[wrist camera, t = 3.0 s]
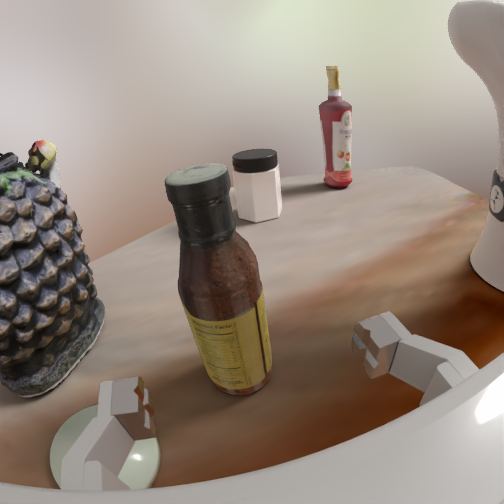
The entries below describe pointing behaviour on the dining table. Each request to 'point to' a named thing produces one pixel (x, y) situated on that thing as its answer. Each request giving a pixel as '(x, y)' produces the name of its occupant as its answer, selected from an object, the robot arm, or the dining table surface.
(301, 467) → the robot arm
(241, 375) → the sauce bottle
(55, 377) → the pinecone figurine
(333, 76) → the liquor
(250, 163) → the jar
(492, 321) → the dining table surface
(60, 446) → the round plate
